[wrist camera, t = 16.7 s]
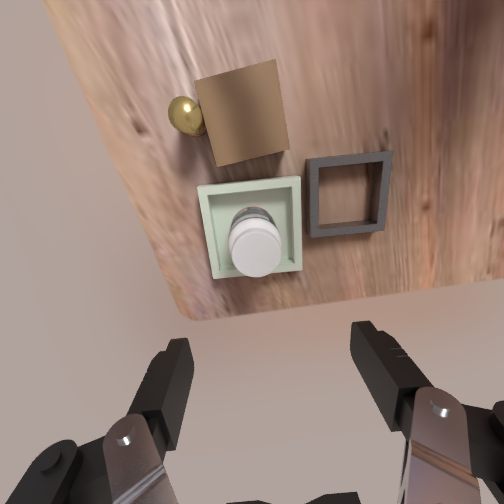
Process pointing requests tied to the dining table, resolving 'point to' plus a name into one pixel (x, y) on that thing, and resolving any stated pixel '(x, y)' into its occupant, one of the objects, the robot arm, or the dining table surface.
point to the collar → (377, 201)
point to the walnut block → (243, 113)
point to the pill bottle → (254, 242)
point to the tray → (245, 195)
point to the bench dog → (186, 116)
